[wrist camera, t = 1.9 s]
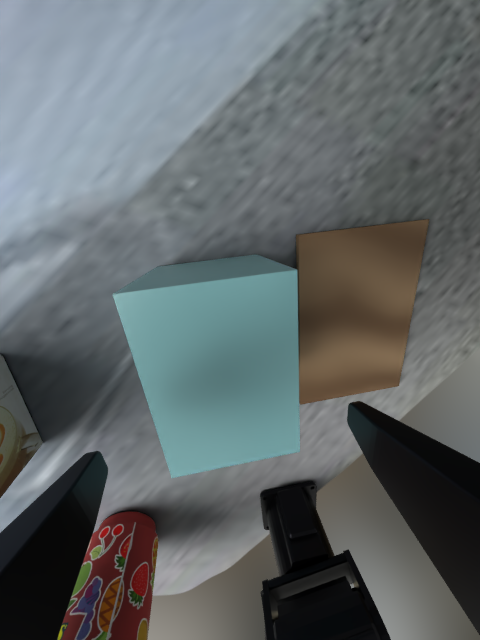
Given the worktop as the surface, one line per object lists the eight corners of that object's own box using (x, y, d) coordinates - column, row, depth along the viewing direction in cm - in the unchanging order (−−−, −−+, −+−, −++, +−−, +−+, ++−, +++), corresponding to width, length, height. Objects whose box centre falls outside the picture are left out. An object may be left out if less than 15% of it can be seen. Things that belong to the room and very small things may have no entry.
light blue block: (265, 370, 20) (299, 451, 12) (185, 384, 19) (171, 478, 12) (256, 254, 16) (297, 269, 9) (157, 266, 16) (112, 294, 8)
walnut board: (394, 383, 22) (398, 386, 22) (298, 400, 22) (300, 404, 21) (423, 219, 17) (429, 219, 17) (296, 234, 16) (298, 234, 16)
